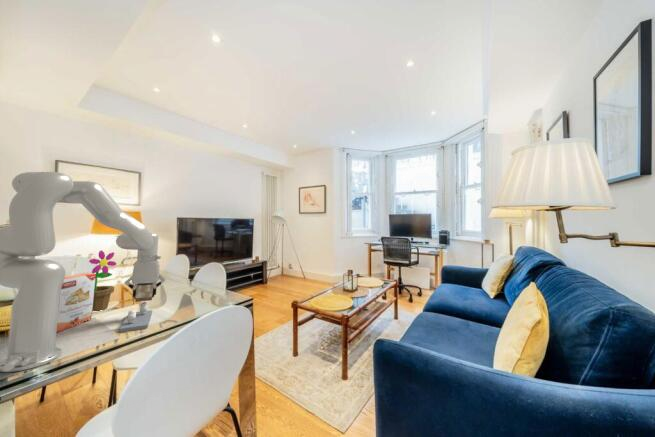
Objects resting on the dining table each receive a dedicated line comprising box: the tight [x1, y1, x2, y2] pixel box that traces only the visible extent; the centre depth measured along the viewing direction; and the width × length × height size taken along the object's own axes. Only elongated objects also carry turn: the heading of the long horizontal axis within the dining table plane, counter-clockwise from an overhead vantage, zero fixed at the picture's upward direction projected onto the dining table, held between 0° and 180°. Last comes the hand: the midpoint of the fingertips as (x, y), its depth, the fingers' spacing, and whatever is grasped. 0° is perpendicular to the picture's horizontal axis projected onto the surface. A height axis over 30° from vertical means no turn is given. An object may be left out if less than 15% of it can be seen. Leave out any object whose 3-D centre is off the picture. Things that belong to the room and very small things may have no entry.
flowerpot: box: [88, 250, 118, 312], centre depth 119 cm, size 14×14×30 cm
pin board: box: [119, 301, 153, 334], centre depth 107 cm, size 20×9×7 cm, turn 32°
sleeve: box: [134, 283, 154, 303], centre depth 112 cm, size 6×6×7 cm
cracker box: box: [56, 272, 96, 334], centre depth 101 cm, size 14×6×21 cm, turn 179°
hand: (144, 297), depth 112 cm, fingers closed on sleeve, 6 cm apart
